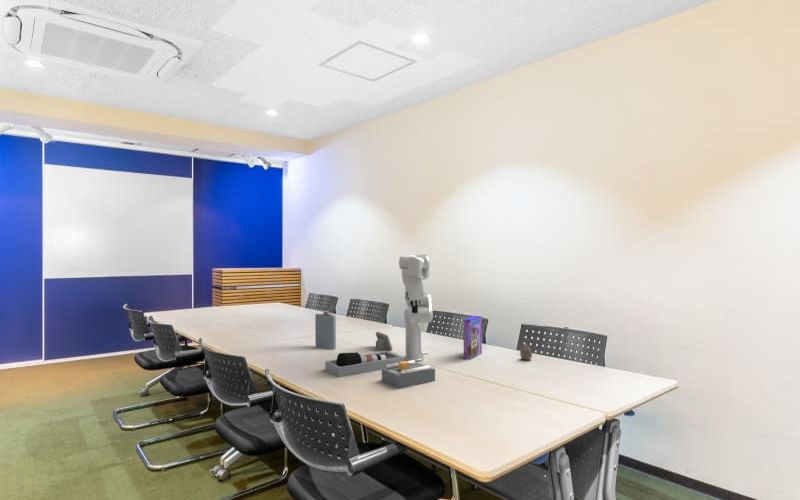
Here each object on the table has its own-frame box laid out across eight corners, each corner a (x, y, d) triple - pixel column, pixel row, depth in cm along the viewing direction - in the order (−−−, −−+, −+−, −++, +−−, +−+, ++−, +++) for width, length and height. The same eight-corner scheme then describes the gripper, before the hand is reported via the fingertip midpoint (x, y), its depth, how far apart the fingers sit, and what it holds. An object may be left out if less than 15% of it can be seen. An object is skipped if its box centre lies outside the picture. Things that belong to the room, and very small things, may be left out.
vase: (525, 361, 266) (525, 346, 266) (517, 359, 272) (517, 344, 272) (534, 360, 269) (534, 345, 269) (526, 357, 275) (526, 343, 275)
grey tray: (387, 359, 272) (387, 351, 272) (403, 365, 258) (403, 356, 258) (325, 370, 249) (325, 361, 249) (338, 377, 235) (338, 367, 235)
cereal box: (470, 359, 271) (470, 319, 271) (463, 358, 274) (463, 319, 274) (481, 353, 286) (481, 316, 286) (474, 352, 288) (474, 315, 288)
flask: (337, 348, 302) (337, 311, 302) (333, 349, 298) (332, 312, 298) (319, 345, 312) (319, 309, 312) (314, 346, 308) (314, 310, 308)
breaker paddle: (405, 367, 230) (405, 360, 230) (409, 369, 227) (409, 362, 227) (398, 368, 228) (398, 362, 228) (403, 370, 224) (403, 363, 224)
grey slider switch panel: (416, 373, 241) (416, 362, 241) (435, 380, 228) (435, 368, 228) (381, 380, 229) (381, 368, 229) (399, 388, 216) (399, 375, 216)
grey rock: (393, 351, 295) (393, 334, 295) (379, 352, 292) (379, 335, 292) (386, 345, 310) (386, 330, 310) (374, 346, 308) (373, 331, 308)
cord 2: (428, 368, 229) (428, 364, 229) (431, 369, 227) (431, 365, 227) (399, 374, 219) (399, 370, 219) (402, 375, 217) (402, 371, 217)
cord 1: (413, 363, 240) (413, 359, 240) (416, 363, 238) (416, 360, 238) (385, 368, 230) (385, 364, 230) (387, 369, 228) (387, 365, 228)
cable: (392, 371, 261) (398, 358, 258) (341, 375, 241) (347, 360, 238) (384, 360, 269) (389, 347, 265) (334, 363, 248) (340, 349, 245)
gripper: (421, 278, 253) (421, 311, 253) (399, 279, 244) (399, 313, 245) (429, 279, 247) (429, 312, 247) (407, 280, 238) (407, 315, 238)
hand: (414, 312), depth 246 cm, fingers closed
